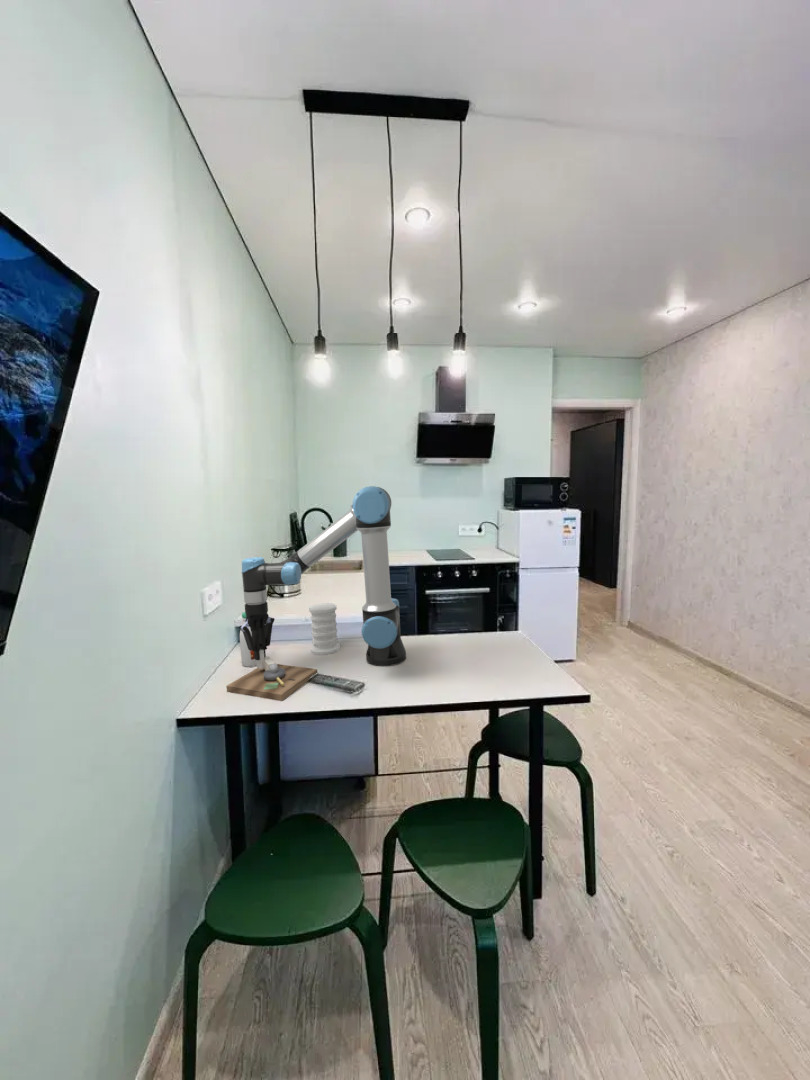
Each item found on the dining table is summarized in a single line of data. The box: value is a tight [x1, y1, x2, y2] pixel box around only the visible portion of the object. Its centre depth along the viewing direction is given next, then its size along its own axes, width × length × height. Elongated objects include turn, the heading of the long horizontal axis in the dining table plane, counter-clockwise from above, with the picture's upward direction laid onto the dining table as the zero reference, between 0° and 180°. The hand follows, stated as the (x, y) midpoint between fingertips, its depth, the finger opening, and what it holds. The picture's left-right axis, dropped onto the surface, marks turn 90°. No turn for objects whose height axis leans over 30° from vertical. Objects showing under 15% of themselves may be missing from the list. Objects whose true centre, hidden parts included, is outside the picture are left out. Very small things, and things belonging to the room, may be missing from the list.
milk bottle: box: [239, 611, 257, 668], centre depth 165 cm, size 8×8×20 cm
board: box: [226, 663, 319, 701], centre depth 148 cm, size 22×20×2 cm
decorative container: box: [308, 602, 341, 656], centre depth 177 cm, size 12×12×18 cm
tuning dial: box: [263, 655, 285, 686], centre depth 148 cm, size 20×7×4 cm, turn 33°
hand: (260, 667), depth 153 cm, fingers closed
